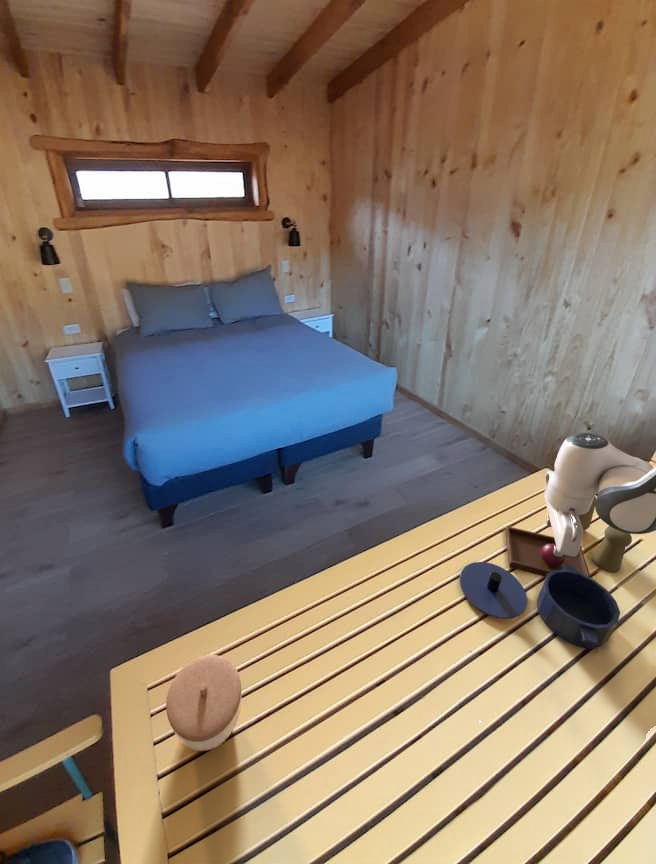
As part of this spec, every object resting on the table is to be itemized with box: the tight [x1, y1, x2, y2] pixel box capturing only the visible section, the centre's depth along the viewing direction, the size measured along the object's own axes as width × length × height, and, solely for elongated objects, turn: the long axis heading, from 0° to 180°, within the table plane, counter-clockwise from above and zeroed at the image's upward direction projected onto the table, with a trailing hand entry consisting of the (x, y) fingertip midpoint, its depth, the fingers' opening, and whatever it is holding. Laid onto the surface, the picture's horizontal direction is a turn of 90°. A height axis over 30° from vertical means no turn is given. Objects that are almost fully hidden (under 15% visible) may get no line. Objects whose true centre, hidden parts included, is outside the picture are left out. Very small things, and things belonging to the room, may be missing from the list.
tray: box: [504, 525, 592, 578], centre depth 101 cm, size 17×12×2 cm
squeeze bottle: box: [579, 495, 597, 533], centre depth 107 cm, size 8×8×18 cm
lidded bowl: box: [165, 654, 242, 752], centre depth 70 cm, size 13×13×11 cm
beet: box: [540, 544, 565, 566], centre depth 99 cm, size 5×5×6 cm
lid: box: [459, 561, 528, 620], centre depth 93 cm, size 14×14×5 cm
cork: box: [590, 525, 633, 574], centre depth 98 cm, size 6×6×11 cm
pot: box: [536, 562, 621, 650], centre depth 87 cm, size 13×19×7 cm
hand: (553, 539), depth 99 cm, fingers open, 8 cm apart
